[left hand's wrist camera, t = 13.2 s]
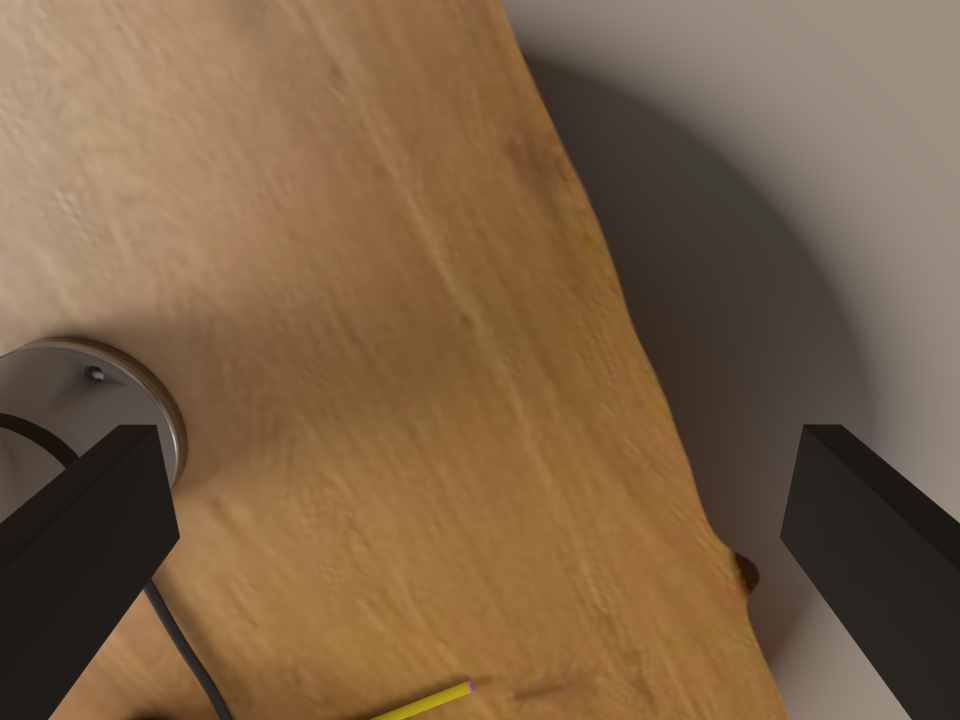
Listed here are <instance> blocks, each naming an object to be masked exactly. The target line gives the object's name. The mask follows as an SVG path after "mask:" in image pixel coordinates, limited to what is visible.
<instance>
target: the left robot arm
mask: <svg viewBox="0 0 960 720" xmlns="http://www.w3.org/2000/svg"><path fill="white" fill-rule="evenodd" d="M186 458H187V434H186V430H185V425H184V422H183V419H182V416H181V414H180V412H179V409H178V407H177V405H176V404H175V402H174V400H173V398H172V397H171V395H170V394H169V393H168V391H167V390H166V389H165V387H164V386H163V385H162V384H161V382H160V381H159V380H158V379H157V378H156V377H155V376H154V375H153V374H152V373H150V372H149V371H148V370H147V369H146V368H145V367H143V366H142V365H141V364H139V363H138V362H137V361H135V360H133V359H132V358H130V357H129V356H127V355H125V354H123V353H121V352H119V351H117V350H115V349H113V348H110V347H108V346H105V345H102V344H99V343H96V342H92V341H88V340H82V339H76V338H51V339H44V340H39V341H35V342H32V343H29V344H26V345H24V346H22V347H20V348H18V349H16V350H14V351H12V352H10V353H8V354H6V355H4V356H1V357H0V720H48V719H49V718H50V716H51V715H52V714H53V712H54V711H55V709H56V708H57V707H58V705H59V704H60V703H61V701H62V700H63V698H64V697H65V696H66V694H67V693H68V692H69V690H70V689H71V687H72V686H73V685H74V683H75V682H76V681H77V679H78V678H79V676H80V675H81V674H82V672H83V671H84V670H85V668H86V667H87V665H88V664H89V663H90V661H91V660H92V658H93V657H94V656H95V654H96V653H97V652H98V650H99V649H100V647H101V646H102V645H103V643H104V642H105V641H106V639H107V638H108V636H109V635H110V634H111V632H112V631H113V630H114V628H115V627H116V625H117V624H118V623H119V621H120V620H121V618H122V617H123V616H124V614H125V613H126V612H127V610H128V609H129V607H130V606H131V605H132V603H133V602H134V601H135V599H136V598H137V596H138V595H139V594H140V592H141V591H142V590H144V591H145V593H146V595H147V597H148V598H149V600H150V602H151V604H152V605H153V607H154V609H155V611H156V613H157V614H158V616H159V618H160V620H161V621H162V623H163V625H164V627H165V628H166V630H167V632H168V634H169V635H170V637H171V639H172V640H173V642H174V644H175V645H176V647H177V648H178V650H179V652H180V653H181V655H182V656H183V658H184V659H185V661H186V662H187V664H188V665H189V667H190V668H191V670H192V671H193V673H194V674H195V676H196V677H197V679H198V680H199V682H200V683H201V685H202V686H203V688H204V690H205V691H206V693H207V695H208V696H209V698H210V700H211V702H212V704H213V705H214V707H215V709H216V711H217V713H218V715H219V717H220V719H221V720H232V717H231V715H230V713H229V711H228V709H227V707H226V705H225V703H224V701H223V699H222V697H221V695H220V693H219V692H218V690H217V688H216V686H215V685H214V683H213V681H212V680H211V678H210V676H209V675H208V673H207V672H206V670H205V669H204V667H203V666H202V664H201V663H200V661H199V660H198V658H197V656H196V655H195V653H194V652H193V650H192V649H191V647H190V646H189V644H188V643H187V641H186V639H185V638H184V636H183V634H182V633H181V631H180V629H179V628H178V626H177V624H176V622H175V621H174V619H173V617H172V615H171V613H170V612H169V610H168V608H167V606H166V604H165V603H164V601H163V599H162V597H161V595H160V594H159V592H158V590H157V588H156V587H155V585H154V583H153V581H152V580H151V577H152V576H153V574H154V573H155V572H156V570H157V569H158V567H159V566H160V565H161V563H162V562H163V561H164V559H165V558H166V556H167V555H168V554H169V552H170V551H171V550H172V548H173V547H174V545H175V544H176V543H177V541H178V540H179V539H180V535H179V530H178V525H177V520H176V515H175V510H174V506H173V501H172V496H171V490H172V489H173V488H174V486H175V485H176V483H177V482H178V480H179V478H180V476H181V475H182V472H183V469H184V467H185V463H186ZM780 539H781V540H782V541H783V543H784V544H785V545H786V547H787V548H788V550H789V551H790V552H791V554H792V555H793V556H794V558H795V559H796V561H797V562H798V563H799V565H800V566H801V567H802V569H803V570H804V572H805V573H806V574H807V576H808V577H809V579H810V580H811V581H812V583H813V584H814V585H815V587H816V588H817V590H818V591H819V592H820V594H821V595H822V596H823V598H824V599H825V601H826V602H827V603H828V605H829V606H830V607H831V609H832V610H833V612H834V613H835V614H836V616H837V617H838V618H839V620H840V621H841V623H842V624H843V625H844V627H845V628H846V629H847V631H848V632H849V634H850V635H851V636H852V638H853V639H854V641H855V642H856V643H857V645H858V646H859V647H860V649H861V650H862V652H863V653H864V654H865V656H866V657H867V658H868V660H869V661H870V663H871V664H872V665H873V667H874V668H875V670H876V671H877V672H878V674H879V675H880V676H881V678H882V679H883V681H884V682H885V683H886V685H887V686H888V687H889V689H890V690H891V692H892V693H893V694H894V696H895V697H896V698H897V700H898V701H899V703H900V704H901V705H902V707H903V708H904V709H905V711H906V712H907V714H908V715H909V716H910V718H911V719H912V720H960V523H959V522H957V521H956V520H955V519H954V518H953V517H951V516H950V515H949V514H948V513H947V512H945V511H944V510H943V509H942V508H941V507H939V506H938V505H937V504H936V503H935V502H933V501H932V500H931V499H930V498H929V497H927V496H926V495H925V494H924V493H923V492H921V491H920V490H919V489H918V488H917V487H915V486H914V485H913V484H912V483H911V482H909V481H908V480H907V479H906V478H905V477H903V476H902V475H901V474H900V473H899V472H897V471H896V470H895V469H894V468H893V467H891V466H890V465H889V464H888V463H887V462H885V461H884V460H883V459H882V458H881V457H879V456H878V455H877V454H876V453H875V452H873V451H872V450H871V449H870V448H869V447H867V446H866V445H865V444H864V443H863V442H861V441H860V440H859V439H858V438H857V437H855V436H854V435H853V434H852V433H851V432H849V431H848V430H847V429H846V428H844V427H843V426H842V425H803V429H802V433H801V438H800V443H799V448H798V453H797V458H796V463H795V467H794V472H793V477H792V482H791V487H790V491H789V496H788V501H787V506H786V510H785V515H784V520H783V525H782V530H781V535H780Z"/></svg>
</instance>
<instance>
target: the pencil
mask: <svg viewBox="0 0 960 720" xmlns="http://www.w3.org/2000/svg"><path fill="white" fill-rule="evenodd" d="M472 692H474V684H473V682H472V681H471V680H469V681H466V682H464V683H461V684H459V685H456V686H454V687H451V688H449V689H446V690H443V691H441V692H438V693H436V694H433V695H431V696H428V697H426V698H423V699H420V700H418V701H415V702H413V703H410V704H408V705H405V706H403V707H400V708H398V709H395V710H392V711H390V712H387V713H385V714H382V715H380V716H377V717H375V718H372V719H370V720H402V719H404V718H407V717H410V716H412V715H415V714H417V713H420V712H422V711H425V710H428V709H430V708H433V707H435V706H438V705H440V704H443V703H446V702H448V701H451V700H453V699H456V698H459V697H461V696H464V695H466V694H469V693H472Z"/></svg>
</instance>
